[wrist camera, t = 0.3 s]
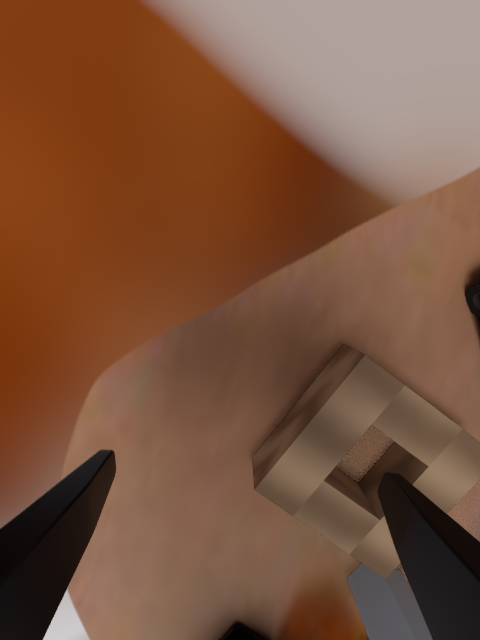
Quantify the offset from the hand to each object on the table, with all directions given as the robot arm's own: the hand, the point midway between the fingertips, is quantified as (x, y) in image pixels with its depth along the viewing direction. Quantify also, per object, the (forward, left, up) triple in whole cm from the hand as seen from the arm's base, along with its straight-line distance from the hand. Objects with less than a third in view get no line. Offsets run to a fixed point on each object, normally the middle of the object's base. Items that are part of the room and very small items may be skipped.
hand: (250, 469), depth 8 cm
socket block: (-1, -14, -15) cm, 20 cm away
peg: (-11, -25, -15) cm, 31 cm away
